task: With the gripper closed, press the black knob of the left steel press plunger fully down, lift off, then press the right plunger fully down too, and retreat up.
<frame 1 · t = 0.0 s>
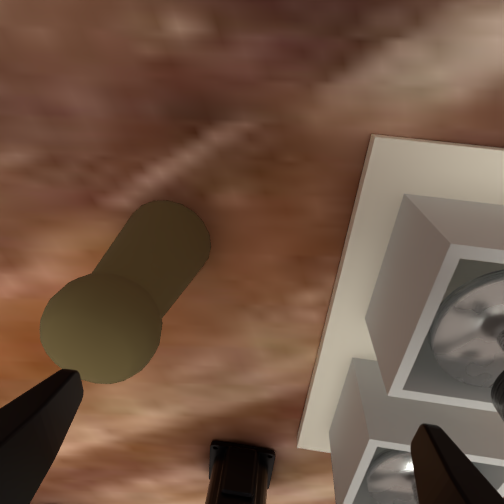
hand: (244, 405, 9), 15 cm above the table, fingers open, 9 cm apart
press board: (417, 338, 25), on the table
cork: (169, 239, 24), on the table
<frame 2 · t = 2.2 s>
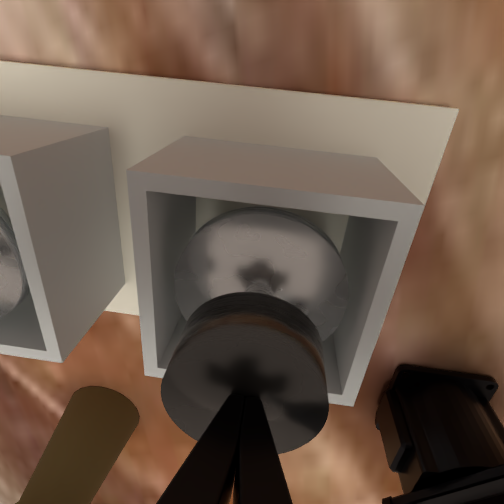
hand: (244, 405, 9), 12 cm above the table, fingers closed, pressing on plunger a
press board: (157, 212, 19), on the table
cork: (106, 408, 29), on the table
plunger a: (253, 331, 11), point 9 cm above the table, slide at 0.3 cm, touching gripper
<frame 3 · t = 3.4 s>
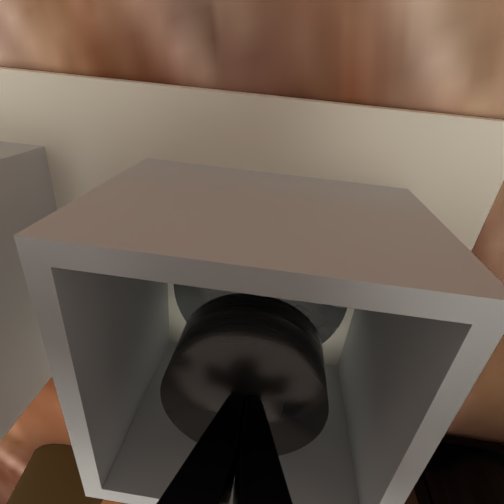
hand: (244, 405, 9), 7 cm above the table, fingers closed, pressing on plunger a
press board: (120, 251, 15), on the table
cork: (74, 467, 25), on the table
plunger a: (253, 332, 11), point 4 cm above the table, slide at 5.1 cm, touching gripper
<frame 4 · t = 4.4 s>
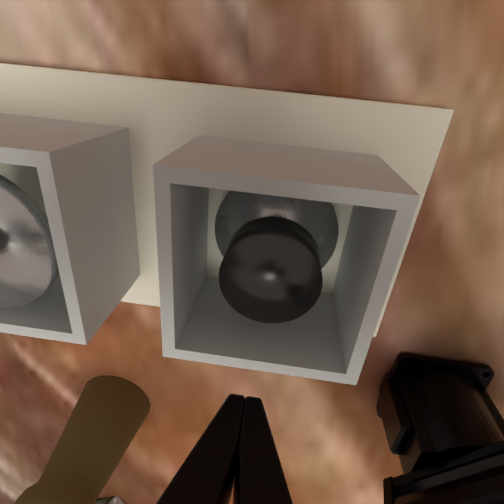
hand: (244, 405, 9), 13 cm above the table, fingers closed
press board: (171, 207, 21), on the table
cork: (118, 398, 30), on the table
plunger a: (273, 251, 17), point 4 cm above the table, slide at 5.1 cm
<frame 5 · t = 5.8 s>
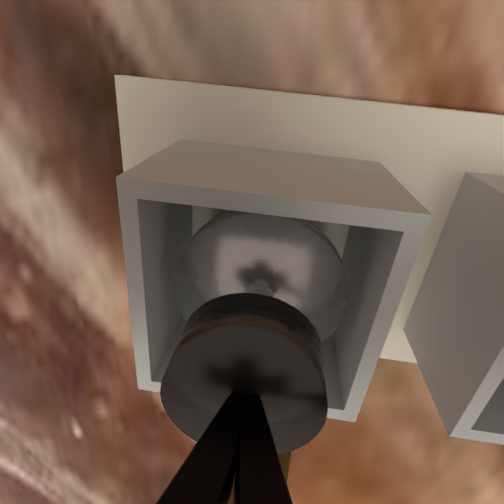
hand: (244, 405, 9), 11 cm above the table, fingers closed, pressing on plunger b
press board: (387, 247, 18), on the table
plunger b: (253, 332, 11), point 8 cm above the table, slide at 1.0 cm, touching gripper
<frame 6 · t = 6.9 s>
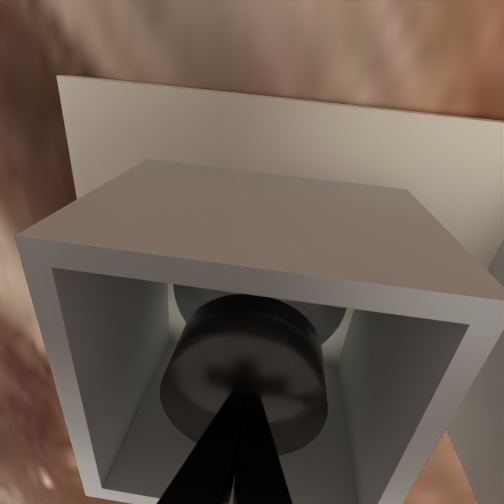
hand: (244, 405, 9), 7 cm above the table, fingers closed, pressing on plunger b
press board: (412, 290, 15), on the table
plunger b: (253, 333, 11), point 4 cm above the table, slide at 5.1 cm, touching gripper
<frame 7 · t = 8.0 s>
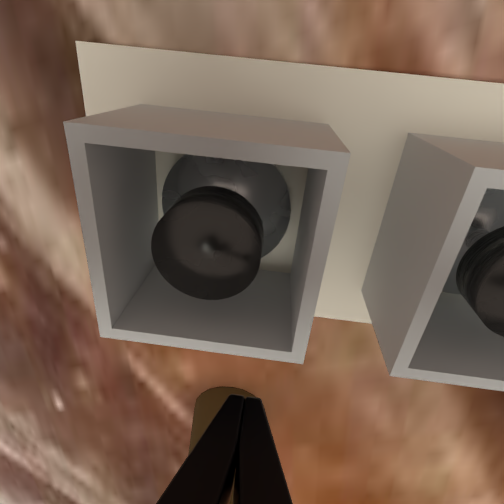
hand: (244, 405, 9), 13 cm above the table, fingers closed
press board: (344, 210, 19), on the table
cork: (230, 409, 29), on the table
plunger b: (218, 225, 16), point 4 cm above the table, slide at 5.1 cm
plunger a: (499, 259, 15), point 4 cm above the table, slide at 5.1 cm
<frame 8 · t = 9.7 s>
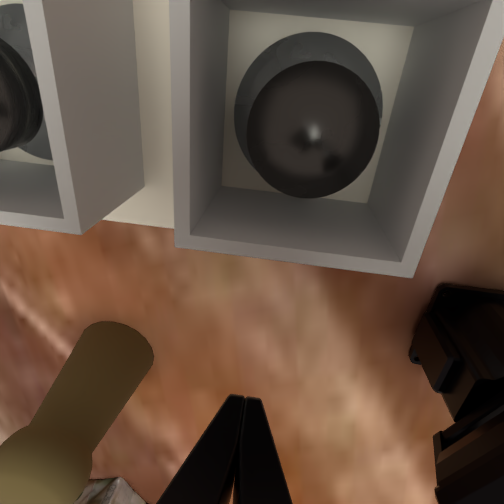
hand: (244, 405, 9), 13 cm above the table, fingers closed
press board: (181, 100, 18), on the table
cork: (118, 349, 27), on the table
plunger b: (6, 91, 14), point 4 cm above the table, slide at 5.1 cm
juice carton: (81, 501, 41), on the table
plunger a: (307, 124, 14), point 4 cm above the table, slide at 5.1 cm
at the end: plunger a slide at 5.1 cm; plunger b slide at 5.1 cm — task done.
